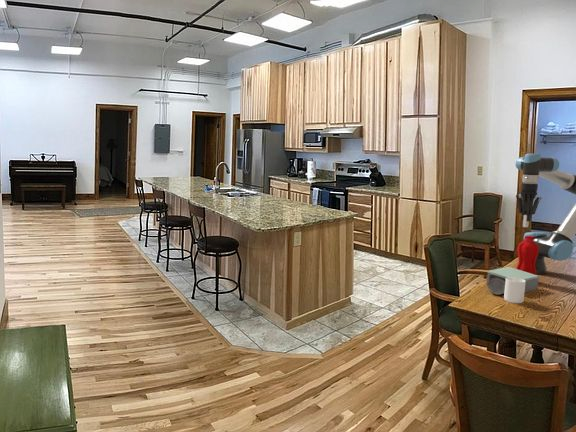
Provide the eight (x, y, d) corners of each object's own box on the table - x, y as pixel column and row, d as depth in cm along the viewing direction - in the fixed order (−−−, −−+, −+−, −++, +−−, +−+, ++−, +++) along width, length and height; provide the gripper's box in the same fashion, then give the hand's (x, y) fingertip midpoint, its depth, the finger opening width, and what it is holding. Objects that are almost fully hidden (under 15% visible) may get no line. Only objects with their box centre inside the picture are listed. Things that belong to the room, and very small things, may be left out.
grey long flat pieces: (507, 280, 242) (508, 269, 241) (537, 289, 228) (538, 277, 227) (486, 285, 233) (487, 274, 232) (516, 294, 219) (517, 282, 218)
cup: (503, 301, 208) (505, 280, 206) (503, 294, 218) (505, 274, 217) (523, 304, 204) (525, 283, 203) (522, 297, 215) (525, 276, 213)
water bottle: (522, 277, 249) (526, 233, 245) (538, 282, 239) (543, 237, 235) (508, 278, 246) (513, 233, 242) (525, 284, 236) (529, 237, 232)
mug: (512, 283, 223) (514, 285, 213) (505, 297, 224) (506, 300, 214) (491, 273, 226) (492, 275, 217) (484, 287, 227) (485, 289, 218)
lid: (508, 268, 241) (508, 266, 240) (538, 277, 227) (538, 275, 227) (487, 272, 231) (487, 270, 231) (517, 282, 218) (517, 280, 217)
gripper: (514, 182, 239) (509, 225, 243) (537, 184, 228) (533, 229, 232) (522, 181, 243) (518, 224, 247) (546, 183, 232) (541, 228, 236)
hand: (525, 226), depth 239 cm, fingers closed
